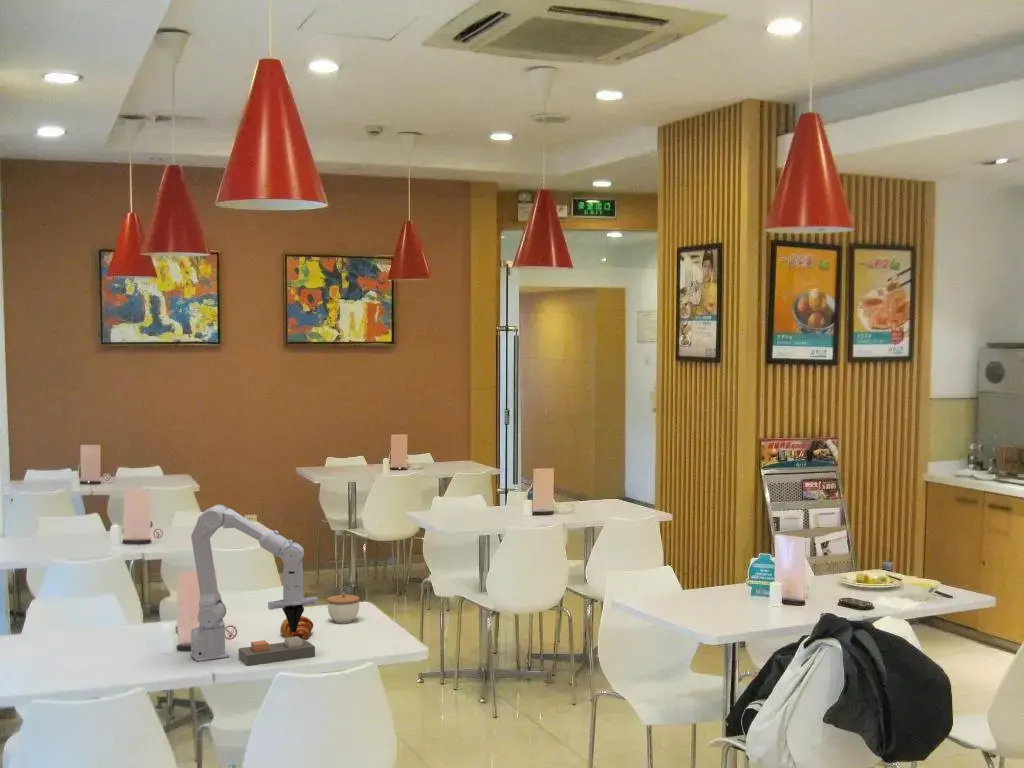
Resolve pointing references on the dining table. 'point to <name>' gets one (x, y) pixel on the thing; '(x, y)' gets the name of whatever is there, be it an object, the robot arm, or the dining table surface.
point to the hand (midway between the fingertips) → (293, 631)
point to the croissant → (302, 628)
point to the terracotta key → (259, 646)
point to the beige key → (293, 642)
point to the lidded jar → (343, 607)
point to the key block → (276, 653)
